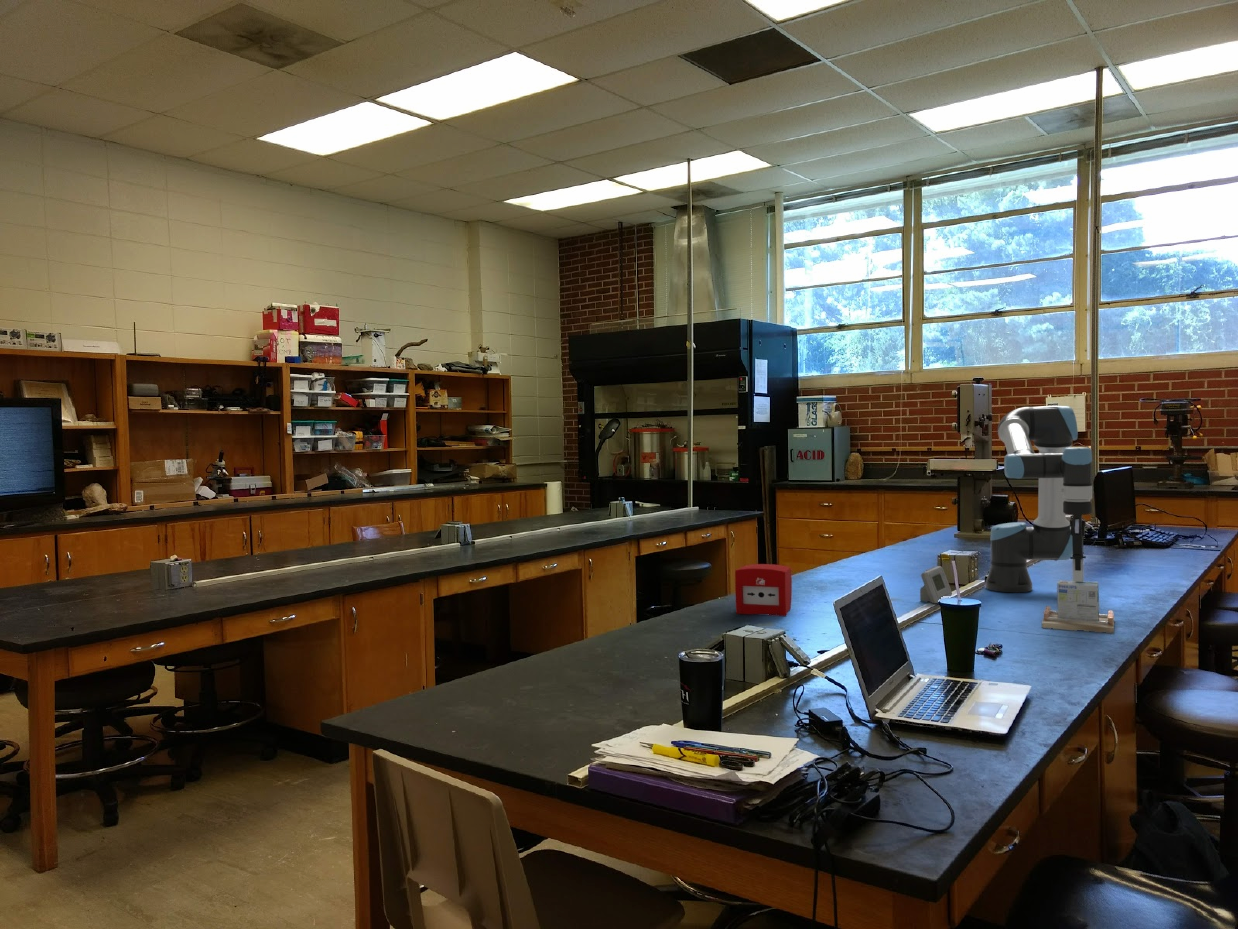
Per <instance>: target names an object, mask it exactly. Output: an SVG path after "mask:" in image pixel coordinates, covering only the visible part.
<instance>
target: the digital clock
mask: <svg viewBox="0 0 1238 929" xmlns="http://www.w3.org/2000/svg"><path fill="white" fill-rule="evenodd" d="M920 577H921V579H922V582H923V586H921V587H920V589H919V600H921V601H920V602H923V601H931V602H932V603H931V602H930V603H931V604H933V603H937V604H939V603H938V600H939V599H941V597H943V596H950V597H951V596H952V594H953V592H952V589H951V586H950V584H949V581H948V578H947V575H946V573H945V571H944V568H943V567H942V566H940V565H937V566H934V567H931V568H929V569H926V570H925V571H923V572H921V575H920Z"/></svg>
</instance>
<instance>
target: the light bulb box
mask: <svg viewBox="0 0 1238 929" xmlns="http://www.w3.org/2000/svg"><path fill="white" fill-rule="evenodd" d="M1056 586H1057V587H1056V593H1057V598H1056V599H1057V611H1058V618H1069V619H1083V620H1096V621H1098V620H1099V614H1100V594H1099V593H1100V592H1099V589H1100V588H1099V582H1098V581H1083V582H1077V581H1073V580H1061V579H1059V580H1058V582H1057V584H1056Z"/></svg>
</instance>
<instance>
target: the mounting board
mask: <svg viewBox="0 0 1238 929" xmlns="http://www.w3.org/2000/svg"><path fill="white" fill-rule="evenodd" d="M1050 617H1056V618H1058V614H1050ZM1098 621H1108V618H1101V617H1099V620H1098ZM1041 628H1042V629H1051V628H1053V630H1066V631H1077V630H1084V631H1083V632H1089V631H1095V632H1094V633H1102V632H1106V633H1105V634H1114V633H1115V632H1114V631H1115V630H1114V629H1115V615H1114V614H1113V625H1103V624H1090V623H1076V622H1063V621H1050V620H1044V617H1043V619H1042V621H1041Z"/></svg>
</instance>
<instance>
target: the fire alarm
mask: <svg viewBox="0 0 1238 929" xmlns="http://www.w3.org/2000/svg"><path fill="white" fill-rule="evenodd" d="M734 571H735V572H734V577H735V578H734V581H735V582H734V585H735V589H734V590H735V610H736V611H735V613H736V614H737V615H738V614H739V615H753V614H769V615H768V616H772V615H779V616H778V617H787V616H786V615H788V613H789V612H790V611H791V610H790V609H792V594H793V593H792V592H793V591H792V589H793V586H792V584H793V580H792V567H791V566H786V565H780V564H771V563H767V564H766V563H756V564H755V563H754V564H753V563H752V564H749V565H748V564H747V565H743V566H741V567H739V568H738V569H735V570H734ZM789 610H790V611H789ZM788 611H789V612H788Z"/></svg>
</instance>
